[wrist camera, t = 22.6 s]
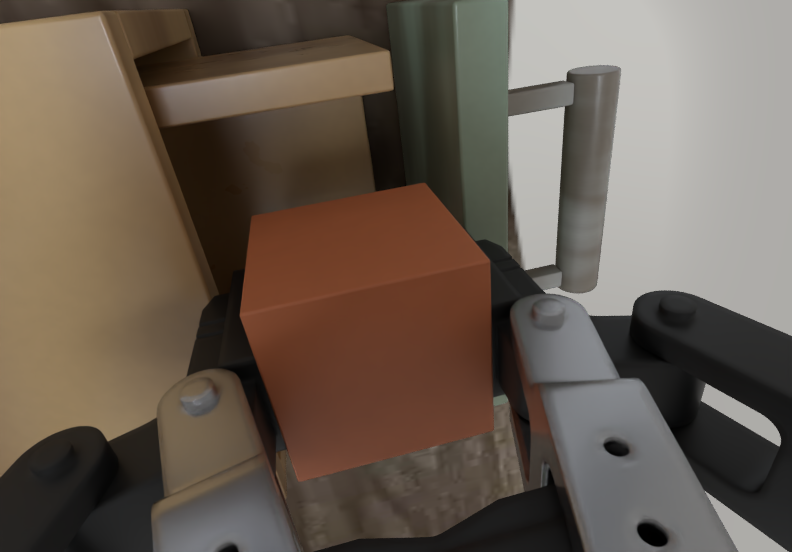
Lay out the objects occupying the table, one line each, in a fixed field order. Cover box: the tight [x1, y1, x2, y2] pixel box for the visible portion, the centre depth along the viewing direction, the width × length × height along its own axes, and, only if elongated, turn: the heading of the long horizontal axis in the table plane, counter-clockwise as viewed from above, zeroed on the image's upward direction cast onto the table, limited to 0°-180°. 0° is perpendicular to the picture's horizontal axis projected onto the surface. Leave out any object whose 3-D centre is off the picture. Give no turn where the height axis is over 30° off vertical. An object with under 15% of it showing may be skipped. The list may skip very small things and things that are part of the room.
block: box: [240, 183, 494, 482], centre depth 10 cm, size 4×4×4 cm
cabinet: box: [0, 9, 287, 499], centre depth 14 cm, size 13×13×9 cm
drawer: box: [136, 0, 621, 406], centre depth 15 cm, size 16×11×7 cm
